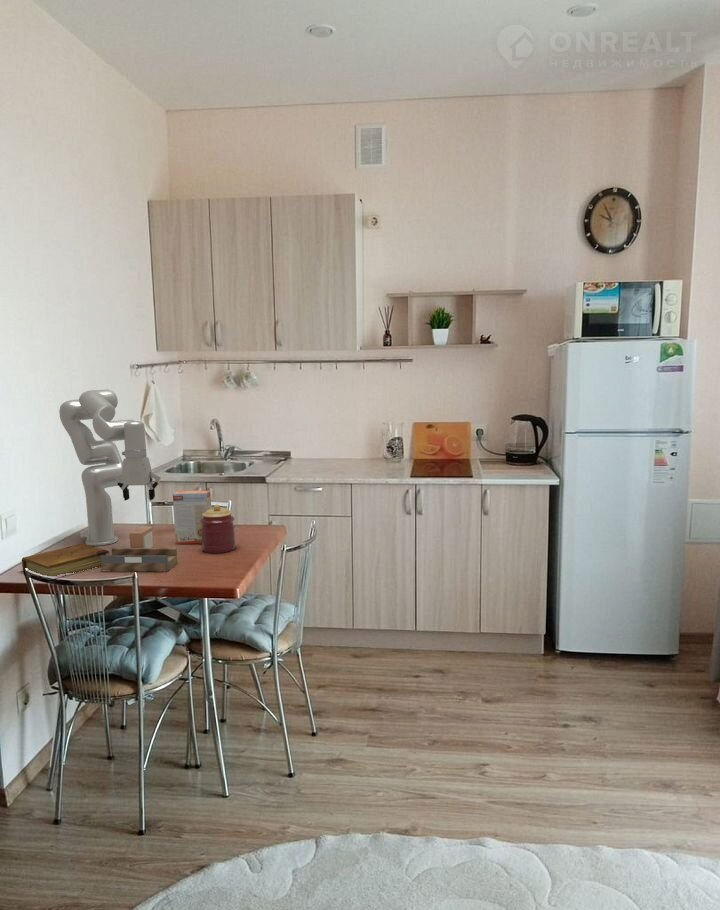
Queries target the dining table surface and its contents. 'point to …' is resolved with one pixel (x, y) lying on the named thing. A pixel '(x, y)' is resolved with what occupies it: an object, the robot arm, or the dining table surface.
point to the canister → (218, 530)
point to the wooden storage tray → (139, 559)
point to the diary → (65, 560)
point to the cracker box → (190, 515)
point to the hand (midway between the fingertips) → (139, 499)
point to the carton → (142, 538)
